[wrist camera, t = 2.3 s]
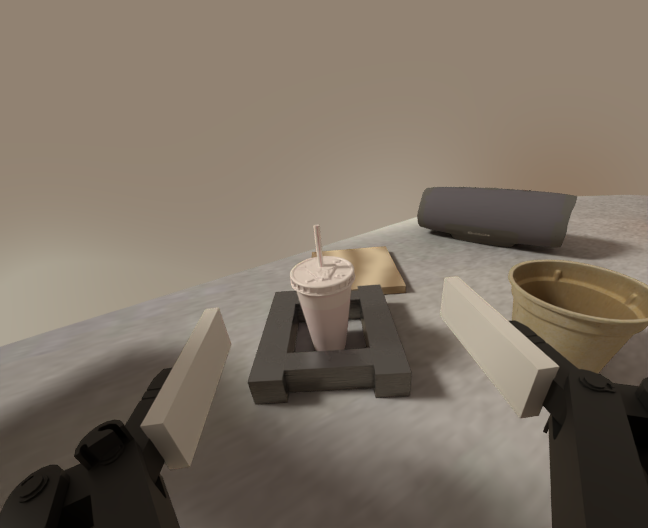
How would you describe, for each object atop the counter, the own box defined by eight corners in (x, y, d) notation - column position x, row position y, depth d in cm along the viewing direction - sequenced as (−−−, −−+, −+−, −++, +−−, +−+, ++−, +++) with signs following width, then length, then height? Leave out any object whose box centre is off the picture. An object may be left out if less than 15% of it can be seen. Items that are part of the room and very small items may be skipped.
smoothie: (349, 320, 33) (343, 213, 26) (365, 358, 27) (363, 233, 21) (299, 330, 32) (280, 222, 26) (305, 372, 26) (283, 246, 20)
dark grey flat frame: (255, 404, 24) (247, 381, 22) (279, 310, 36) (275, 292, 35) (409, 395, 23) (411, 372, 22) (379, 302, 35) (380, 284, 34)
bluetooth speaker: (558, 242, 47) (578, 186, 42) (555, 263, 40) (578, 200, 36) (431, 224, 60) (435, 180, 56) (414, 238, 54) (418, 190, 50)
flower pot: (473, 328, 30) (488, 261, 26) (561, 325, 29) (590, 255, 25) (526, 406, 21) (560, 324, 17) (652, 405, 20) (718, 319, 17)
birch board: (308, 299, 38) (307, 292, 37) (312, 257, 50) (312, 252, 50) (405, 292, 37) (405, 285, 36) (385, 252, 49) (385, 246, 49)
